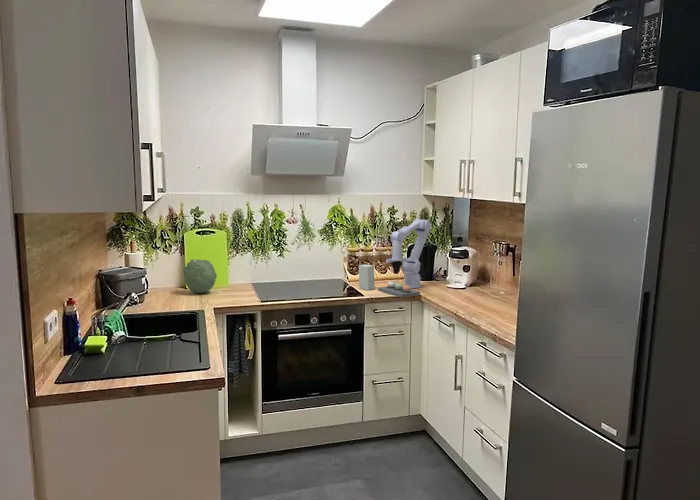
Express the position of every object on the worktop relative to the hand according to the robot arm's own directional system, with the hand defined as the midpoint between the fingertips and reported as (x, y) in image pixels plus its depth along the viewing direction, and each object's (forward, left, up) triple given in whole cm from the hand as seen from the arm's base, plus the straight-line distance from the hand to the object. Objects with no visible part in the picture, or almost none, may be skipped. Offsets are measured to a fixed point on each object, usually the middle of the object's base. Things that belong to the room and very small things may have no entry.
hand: (396, 273), depth 307 cm
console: (+3, +6, -10) cm, 12 cm away
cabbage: (+103, -53, -11) cm, 116 cm away
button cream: (+3, -1, -8) cm, 8 cm away
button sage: (+3, +6, -8) cm, 10 cm away
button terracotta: (+3, +13, -8) cm, 15 cm away
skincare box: (+13, -13, -11) cm, 21 cm away
